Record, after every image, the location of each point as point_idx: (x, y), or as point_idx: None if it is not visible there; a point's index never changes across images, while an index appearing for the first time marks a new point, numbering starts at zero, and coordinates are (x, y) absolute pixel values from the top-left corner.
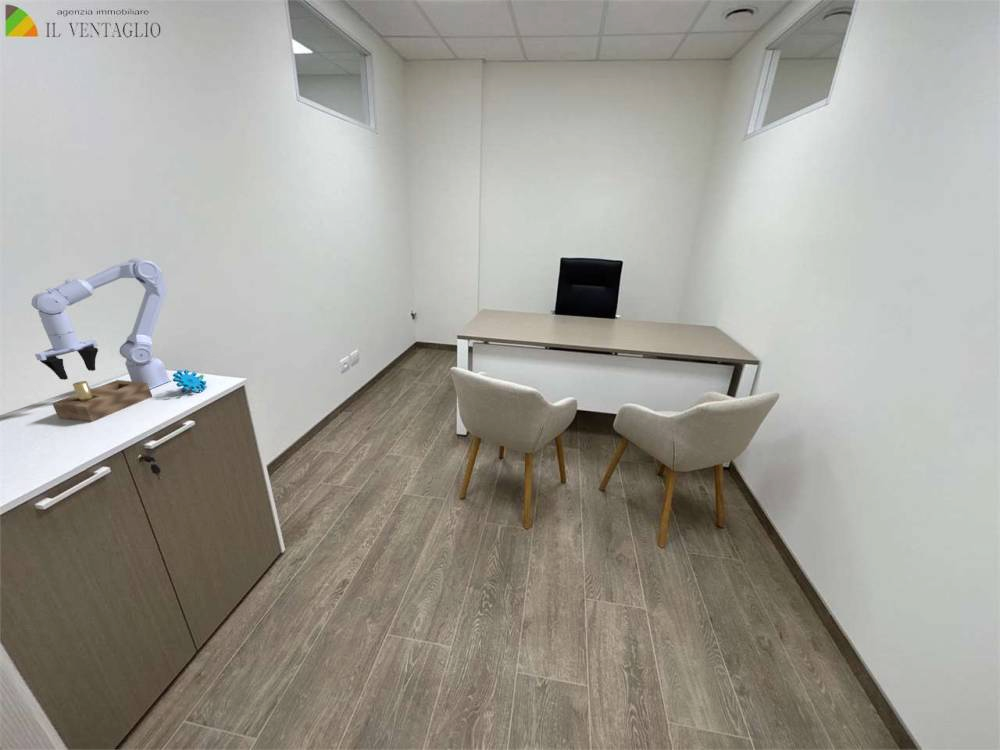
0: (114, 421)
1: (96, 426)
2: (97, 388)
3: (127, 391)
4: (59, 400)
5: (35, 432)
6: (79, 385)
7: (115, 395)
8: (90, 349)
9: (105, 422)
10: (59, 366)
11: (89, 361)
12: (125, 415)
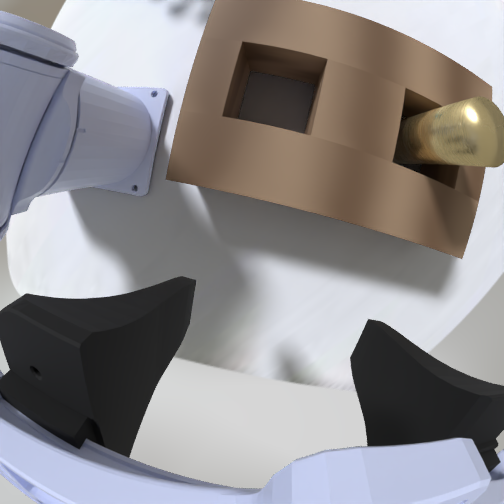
0: (442, 34)
1: (472, 68)
2: (302, 183)
3: (330, 10)
4: (443, 250)
5: (497, 224)
6: (501, 118)
7: (389, 28)
8: (60, 363)
9: (451, 56)
10: (454, 371)
11: (160, 329)
12: (404, 21)
